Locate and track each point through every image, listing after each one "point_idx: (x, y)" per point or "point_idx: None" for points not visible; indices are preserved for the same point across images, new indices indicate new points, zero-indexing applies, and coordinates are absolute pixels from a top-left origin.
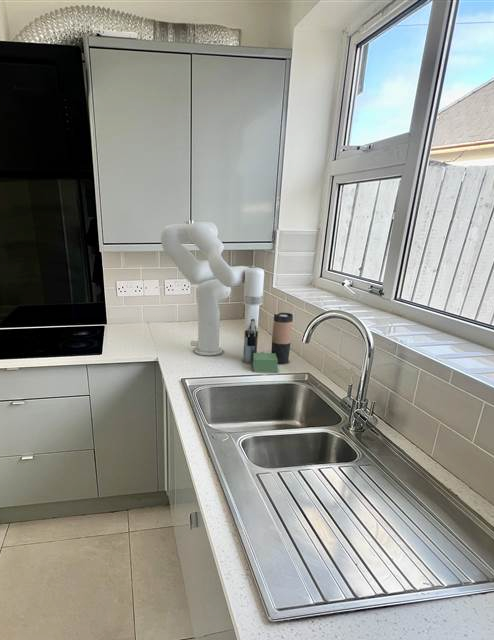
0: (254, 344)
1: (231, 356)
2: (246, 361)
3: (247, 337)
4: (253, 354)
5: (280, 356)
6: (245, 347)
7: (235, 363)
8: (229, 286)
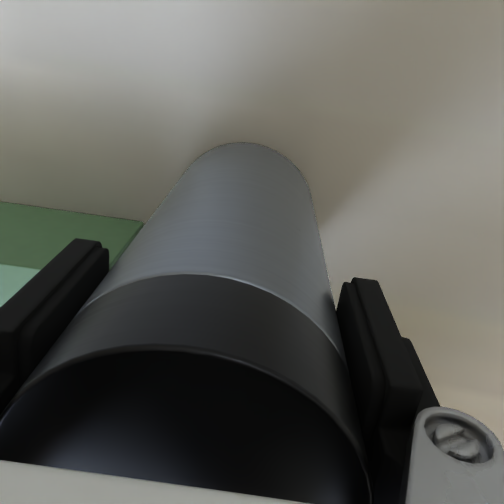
0: None
1: (448, 16)
2: (186, 170)
3: (80, 313)
4: (34, 266)
5: None
6: (170, 203)
7: (166, 29)
8: None
